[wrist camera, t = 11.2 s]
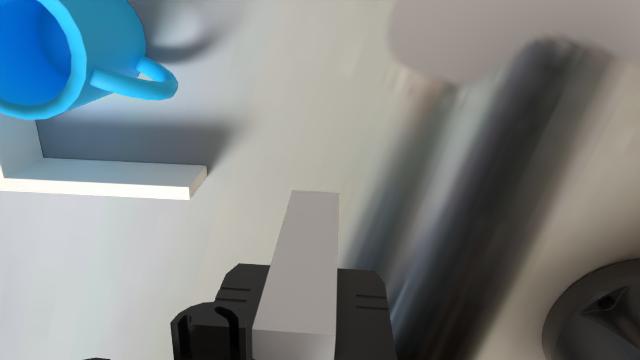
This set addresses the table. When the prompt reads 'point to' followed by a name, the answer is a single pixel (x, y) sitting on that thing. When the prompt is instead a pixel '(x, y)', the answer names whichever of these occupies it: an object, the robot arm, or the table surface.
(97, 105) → the table surface
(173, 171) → the box
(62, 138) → the table surface
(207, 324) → the robot arm
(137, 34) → the mug
